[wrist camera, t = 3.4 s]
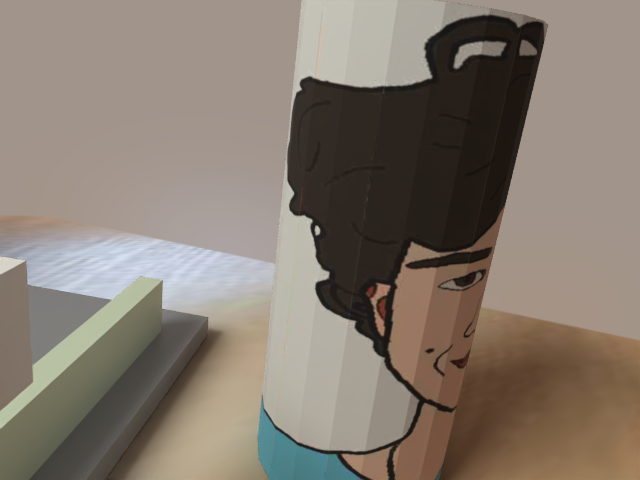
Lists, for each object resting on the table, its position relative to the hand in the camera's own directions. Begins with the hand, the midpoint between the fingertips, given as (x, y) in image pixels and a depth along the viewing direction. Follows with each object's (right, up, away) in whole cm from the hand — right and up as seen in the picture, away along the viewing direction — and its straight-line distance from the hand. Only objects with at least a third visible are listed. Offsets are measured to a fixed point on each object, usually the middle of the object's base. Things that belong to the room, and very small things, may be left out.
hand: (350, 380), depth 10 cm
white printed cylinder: (0, -5, +10) cm, 11 cm away
